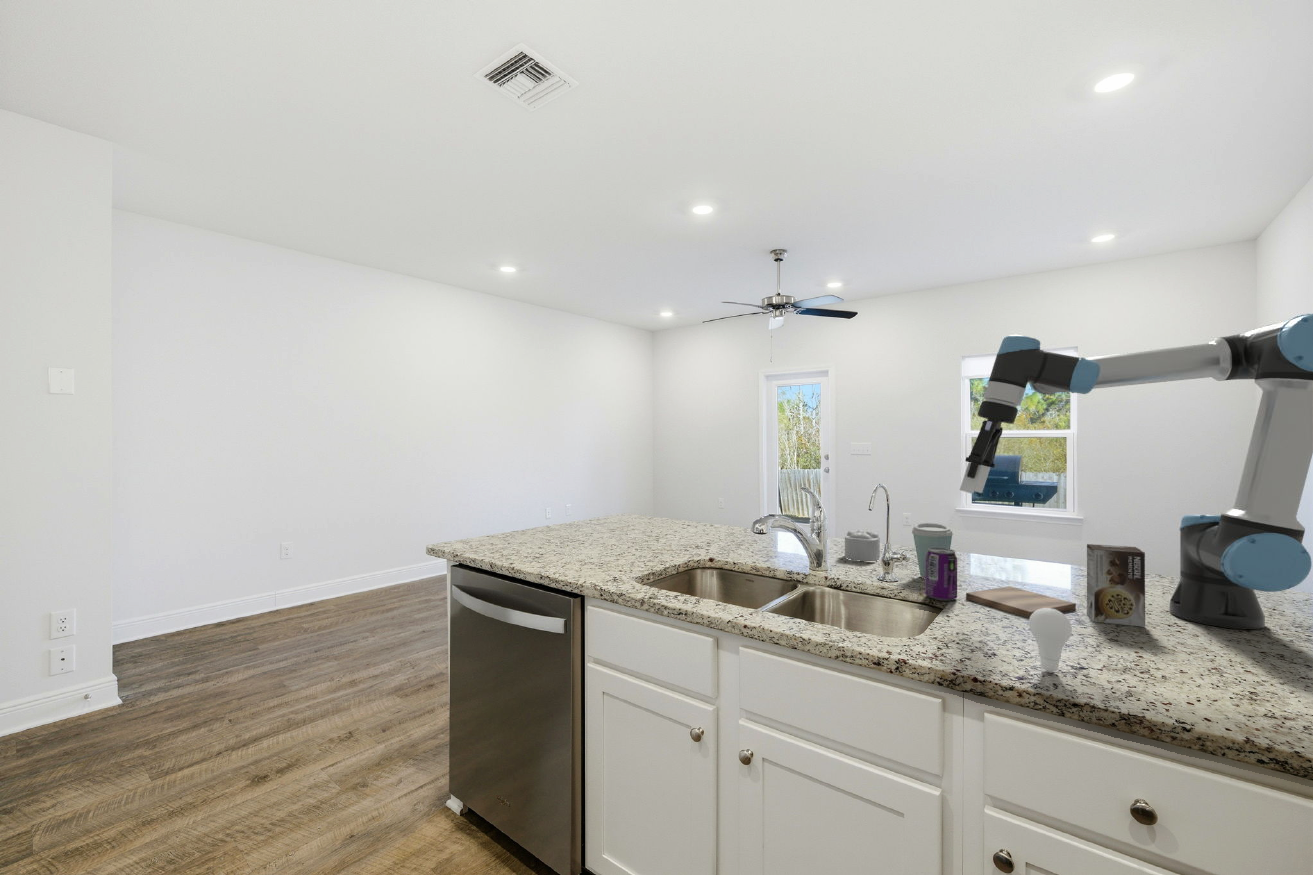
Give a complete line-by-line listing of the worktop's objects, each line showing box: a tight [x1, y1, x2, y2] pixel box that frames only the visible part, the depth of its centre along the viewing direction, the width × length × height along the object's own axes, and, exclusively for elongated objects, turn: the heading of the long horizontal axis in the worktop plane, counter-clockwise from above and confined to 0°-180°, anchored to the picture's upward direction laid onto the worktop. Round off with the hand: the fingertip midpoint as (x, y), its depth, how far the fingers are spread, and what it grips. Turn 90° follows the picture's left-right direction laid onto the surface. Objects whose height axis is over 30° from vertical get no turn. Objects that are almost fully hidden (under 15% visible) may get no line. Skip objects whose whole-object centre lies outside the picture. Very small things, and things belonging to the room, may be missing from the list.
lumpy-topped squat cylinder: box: [844, 529, 881, 562], centre depth 187 cm, size 10×13×9 cm
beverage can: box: [924, 548, 958, 602], centre depth 142 cm, size 7×7×12 cm
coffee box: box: [1086, 543, 1146, 628], centre depth 125 cm, size 9×6×16 cm
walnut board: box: [965, 585, 1077, 619], centre depth 137 cm, size 16×16×2 cm
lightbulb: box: [1028, 608, 1073, 674], centre depth 98 cm, size 6×6×11 cm
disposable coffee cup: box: [911, 522, 954, 579], centre depth 161 cm, size 11×11×15 cm
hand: (971, 491), depth 133 cm, fingers open, 13 cm apart
